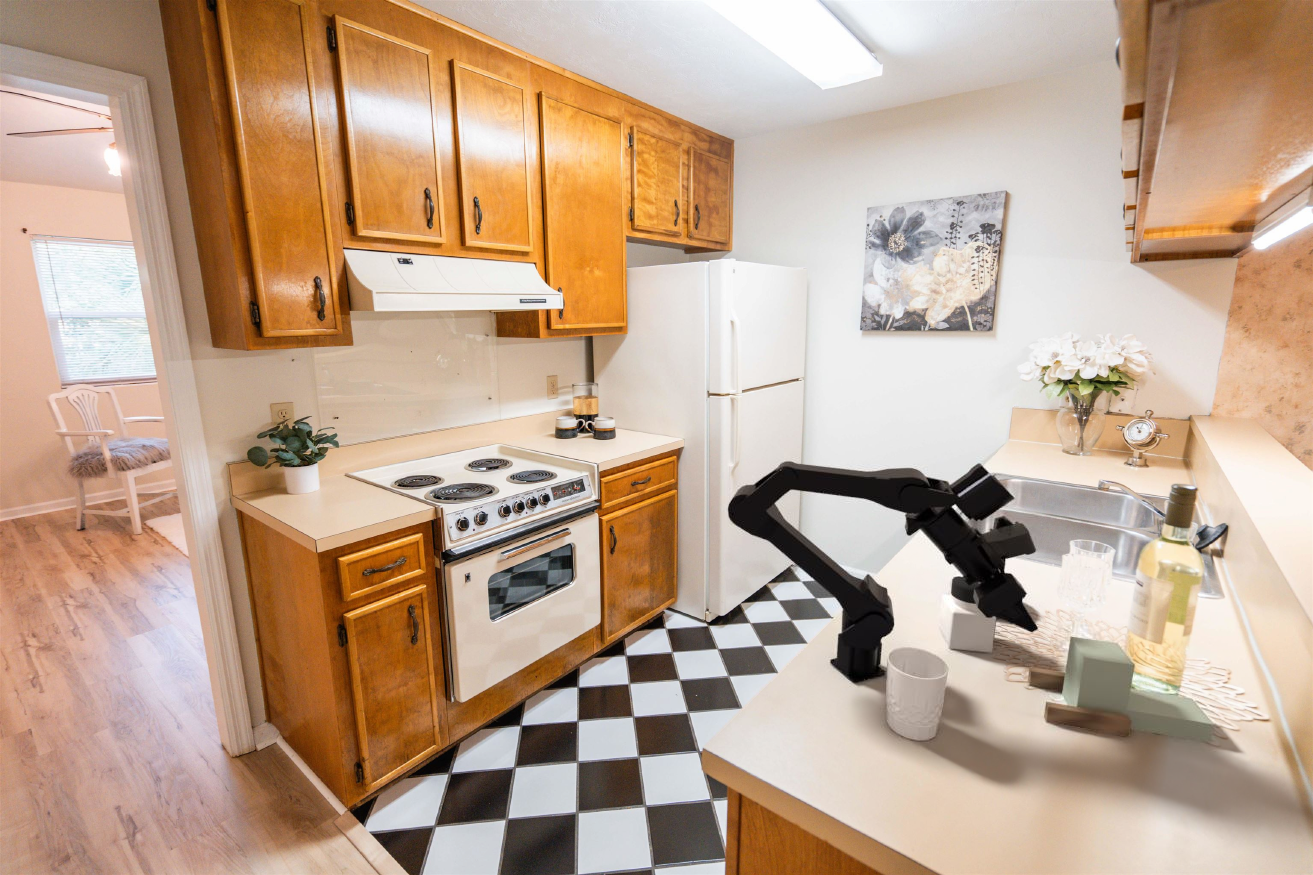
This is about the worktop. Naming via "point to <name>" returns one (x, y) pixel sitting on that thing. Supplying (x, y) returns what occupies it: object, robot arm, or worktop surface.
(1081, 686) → the key block
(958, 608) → the medicine bottle
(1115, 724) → the walnut slot
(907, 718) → the white cup
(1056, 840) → the worktop surface
